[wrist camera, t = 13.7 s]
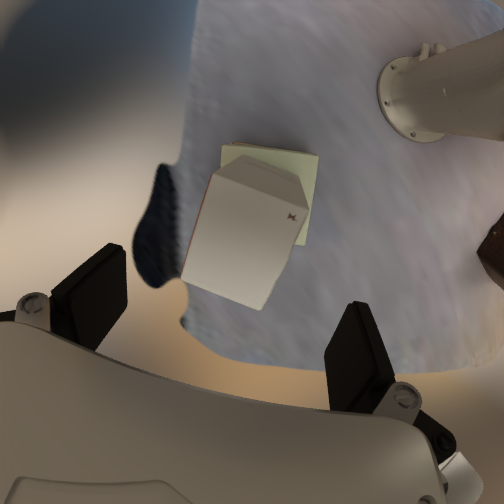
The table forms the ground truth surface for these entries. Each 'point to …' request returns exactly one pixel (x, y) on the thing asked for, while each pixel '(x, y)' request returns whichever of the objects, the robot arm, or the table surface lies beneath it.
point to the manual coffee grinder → (494, 253)
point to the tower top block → (285, 160)
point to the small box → (245, 231)
